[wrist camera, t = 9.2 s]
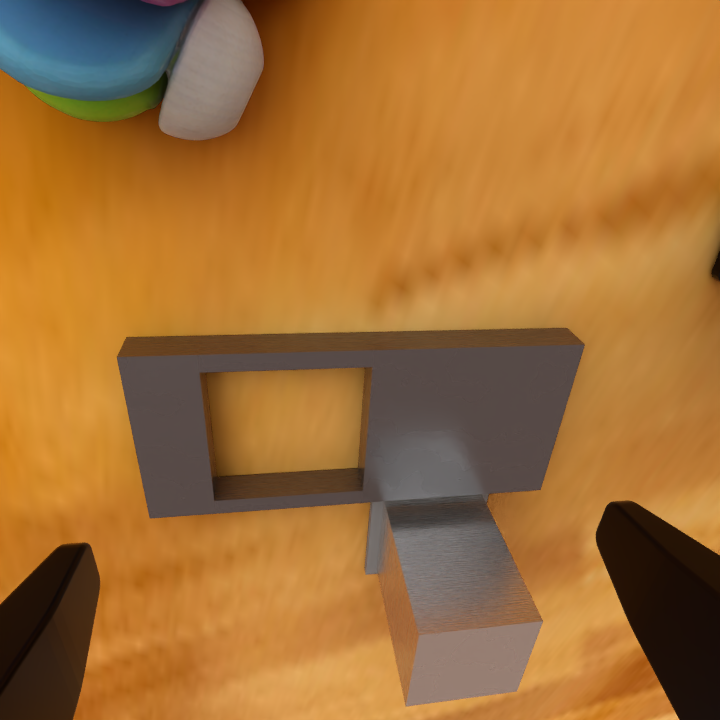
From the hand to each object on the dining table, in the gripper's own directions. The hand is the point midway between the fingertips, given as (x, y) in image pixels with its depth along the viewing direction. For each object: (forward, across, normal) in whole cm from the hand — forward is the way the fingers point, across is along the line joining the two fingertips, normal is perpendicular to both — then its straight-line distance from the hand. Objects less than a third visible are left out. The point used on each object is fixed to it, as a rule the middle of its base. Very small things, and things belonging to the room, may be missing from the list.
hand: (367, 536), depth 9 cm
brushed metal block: (+12, -6, +14) cm, 19 cm away
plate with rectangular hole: (+12, -2, +6) cm, 14 cm away
